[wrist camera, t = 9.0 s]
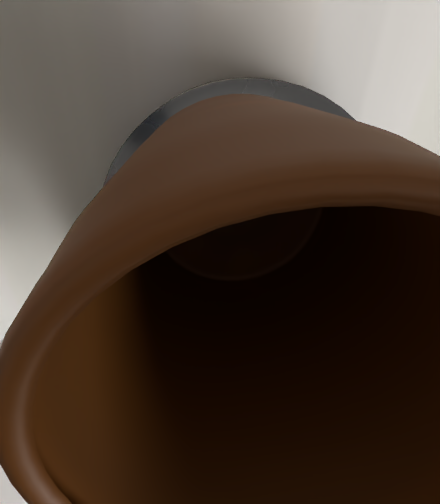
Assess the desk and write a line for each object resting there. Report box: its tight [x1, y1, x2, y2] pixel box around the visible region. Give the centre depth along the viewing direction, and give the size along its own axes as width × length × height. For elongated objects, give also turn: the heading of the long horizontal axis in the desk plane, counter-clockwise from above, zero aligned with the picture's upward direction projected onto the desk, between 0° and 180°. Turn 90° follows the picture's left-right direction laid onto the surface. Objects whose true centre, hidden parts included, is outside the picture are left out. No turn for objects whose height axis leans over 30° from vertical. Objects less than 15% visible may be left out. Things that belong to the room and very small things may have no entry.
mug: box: [0, 94, 440, 504], centre depth 9 cm, size 12×8×9 cm, turn 168°
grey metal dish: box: [103, 78, 356, 187], centre depth 14 cm, size 12×12×3 cm
